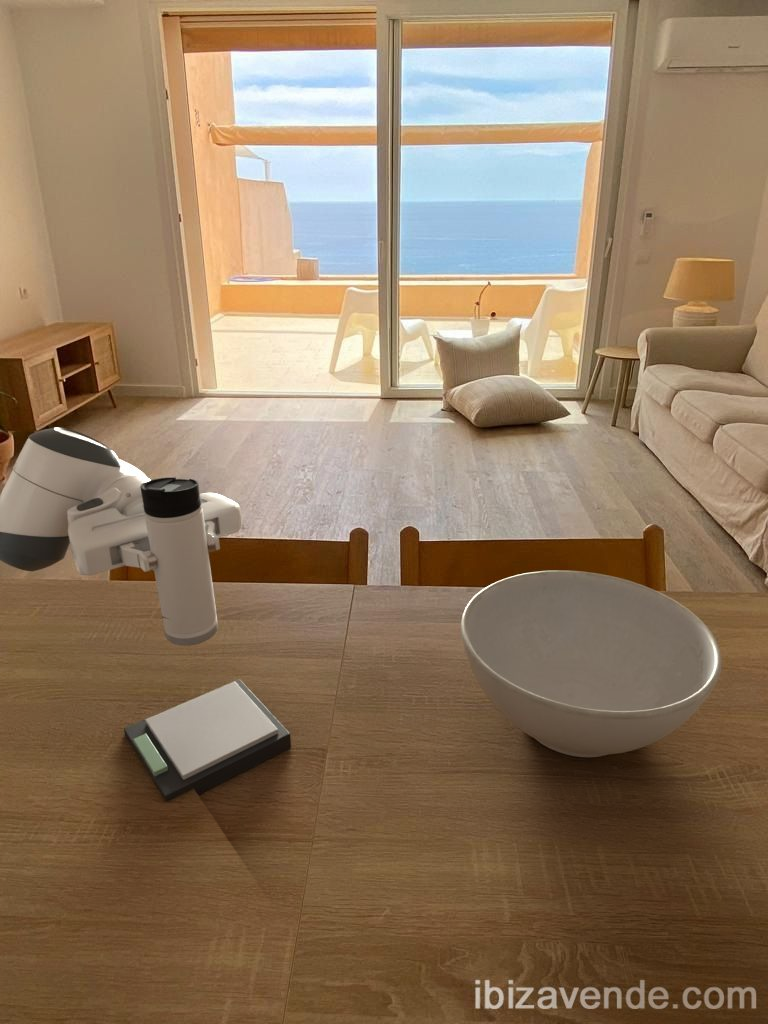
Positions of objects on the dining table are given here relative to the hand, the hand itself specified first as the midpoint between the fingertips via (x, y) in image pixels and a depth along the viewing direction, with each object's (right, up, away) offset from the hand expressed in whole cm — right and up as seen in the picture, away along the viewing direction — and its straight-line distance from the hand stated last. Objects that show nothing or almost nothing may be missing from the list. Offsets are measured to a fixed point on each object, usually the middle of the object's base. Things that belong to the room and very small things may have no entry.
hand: (183, 554), depth 79 cm
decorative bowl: (+45, -19, +1) cm, 49 cm away
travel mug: (0, -10, +5) cm, 11 cm away
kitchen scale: (+4, -21, -3) cm, 21 cm away
